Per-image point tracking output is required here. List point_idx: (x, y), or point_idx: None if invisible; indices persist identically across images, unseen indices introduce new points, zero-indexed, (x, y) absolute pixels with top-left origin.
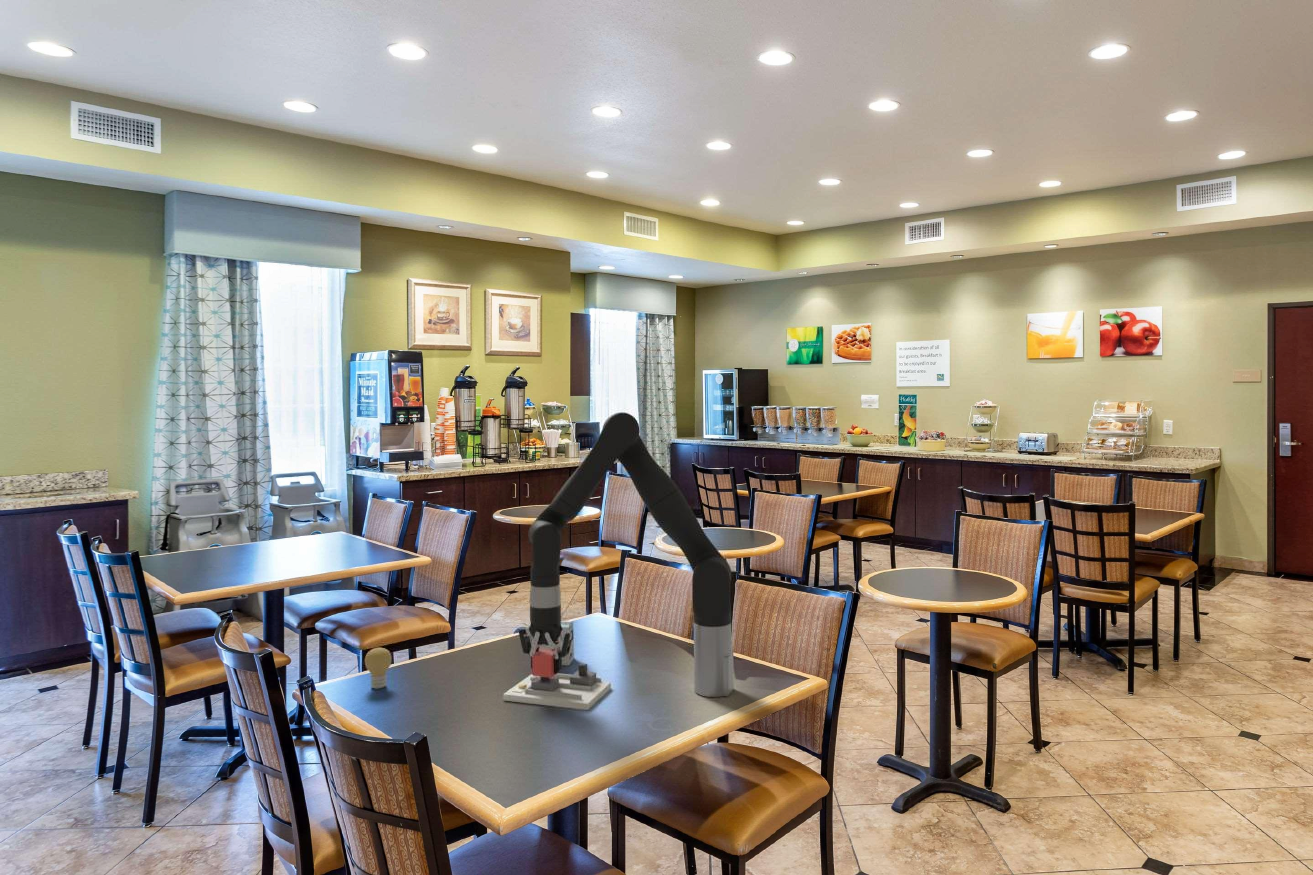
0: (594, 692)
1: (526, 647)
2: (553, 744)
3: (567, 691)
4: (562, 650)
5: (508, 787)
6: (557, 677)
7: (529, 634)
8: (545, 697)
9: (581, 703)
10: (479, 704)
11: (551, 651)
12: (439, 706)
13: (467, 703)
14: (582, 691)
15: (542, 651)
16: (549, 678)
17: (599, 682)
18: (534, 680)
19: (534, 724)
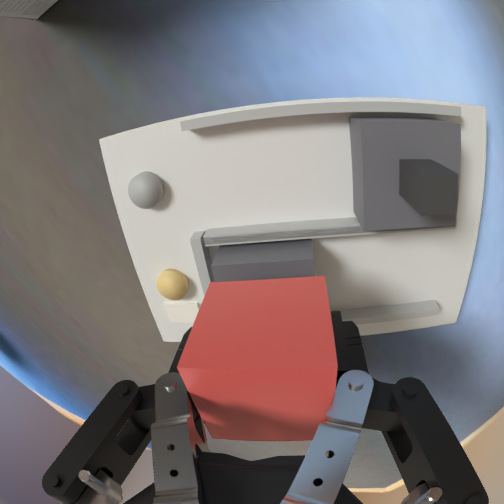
0: (462, 232)
1: (147, 442)
2: None
3: (364, 259)
4: (396, 447)
5: (376, 480)
6: (307, 261)
7: (112, 487)
8: None
9: (438, 323)
10: (143, 358)
11: (278, 386)
12: (93, 374)
13: (117, 358)
14: (420, 239)
15: (219, 397)
16: None
17: (448, 116)
18: None
19: None
